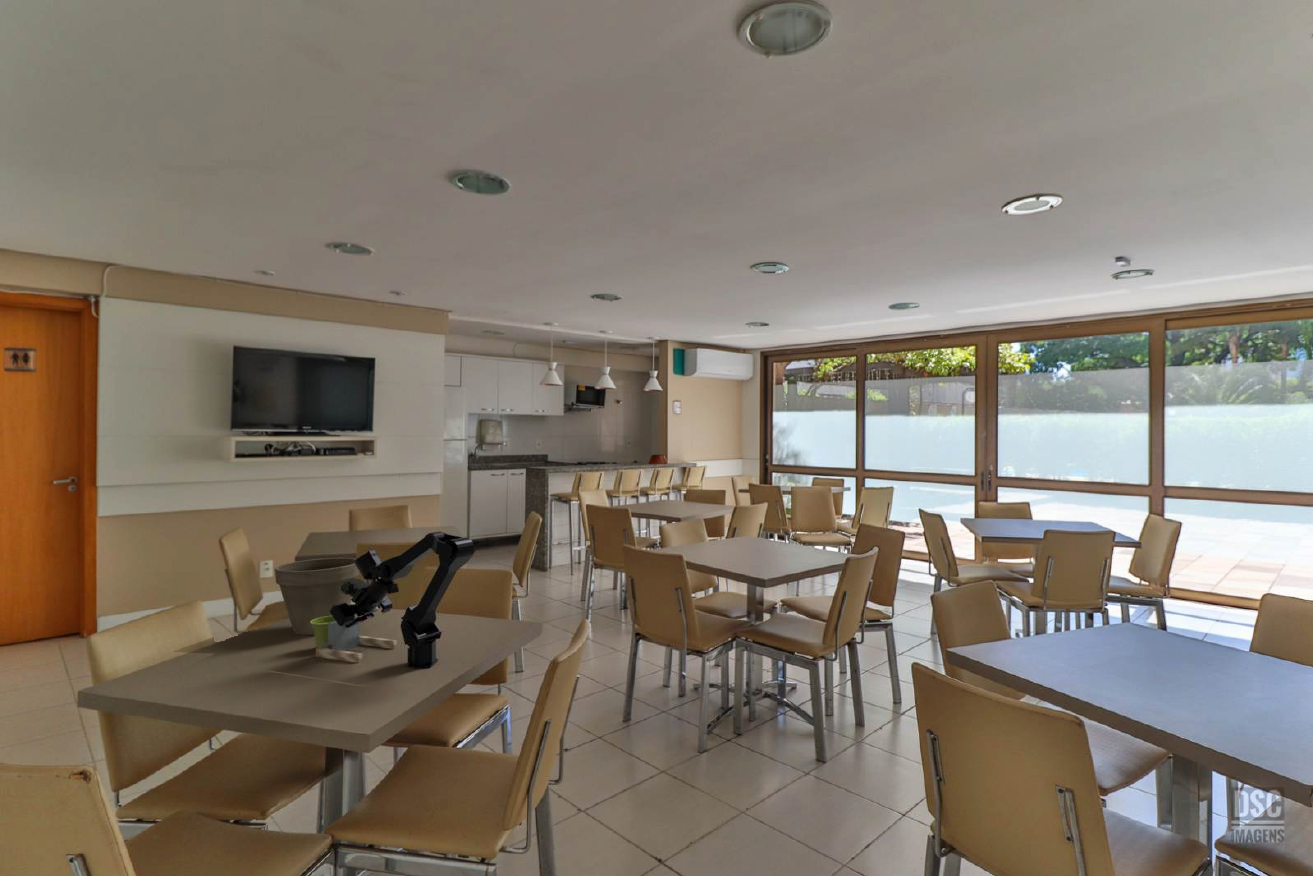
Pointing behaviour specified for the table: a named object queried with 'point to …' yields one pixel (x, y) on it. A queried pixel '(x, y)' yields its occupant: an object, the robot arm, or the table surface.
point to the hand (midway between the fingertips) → (346, 626)
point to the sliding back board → (342, 637)
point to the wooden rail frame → (353, 655)
